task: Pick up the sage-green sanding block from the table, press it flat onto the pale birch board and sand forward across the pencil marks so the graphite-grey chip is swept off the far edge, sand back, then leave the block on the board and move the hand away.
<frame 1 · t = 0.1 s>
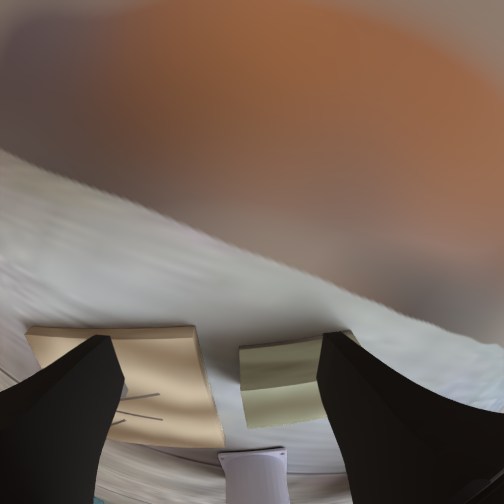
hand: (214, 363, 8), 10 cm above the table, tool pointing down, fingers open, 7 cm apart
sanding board: (126, 392, 21), on the table
sanding block: (296, 359, 21), on the table
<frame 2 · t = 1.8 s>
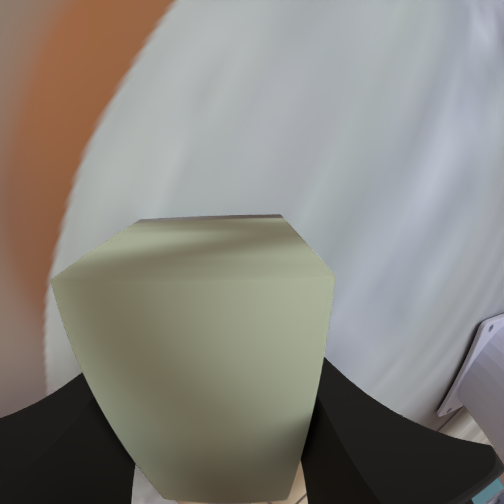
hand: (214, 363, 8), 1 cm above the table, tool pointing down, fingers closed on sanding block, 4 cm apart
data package: (464, 474, 28), on the table
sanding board: (276, 489, 15), on the table
sanding block: (216, 337, 10), on the table, touching gripper
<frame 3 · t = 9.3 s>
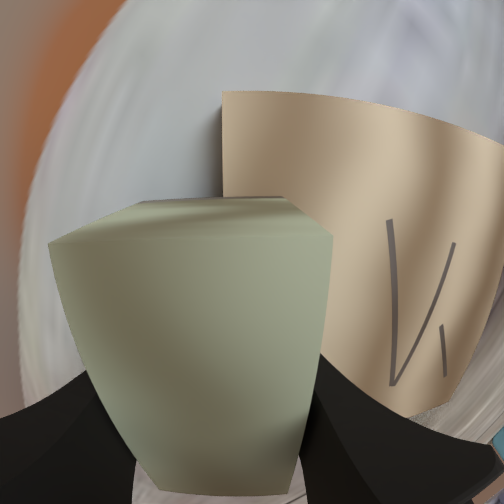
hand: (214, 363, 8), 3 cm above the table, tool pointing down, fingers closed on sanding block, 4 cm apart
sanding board: (388, 303, 12), on the table
sanding block: (217, 322, 10), point 1 cm above the table, touching gripper, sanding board
when the fingers open (3 cm above the table, at t = 10.7 s): sanding block stays where it is, resting on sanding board.
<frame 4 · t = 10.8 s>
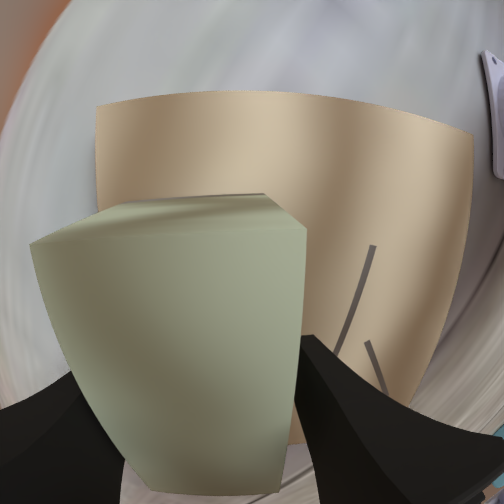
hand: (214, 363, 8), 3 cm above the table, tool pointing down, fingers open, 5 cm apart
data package: (497, 431, 25), on the table
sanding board: (300, 312, 12), on the table
sanding block: (203, 321, 10), point 2 cm above the table, touching gripper, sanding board
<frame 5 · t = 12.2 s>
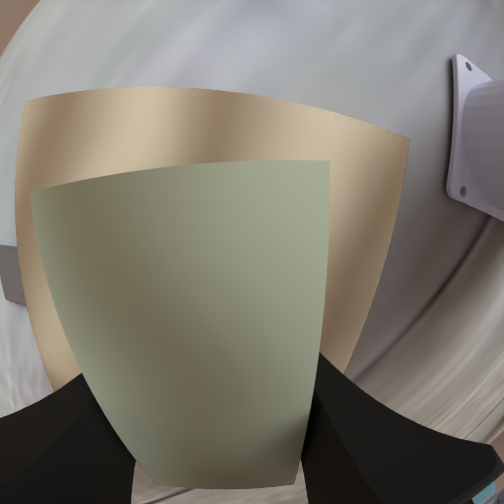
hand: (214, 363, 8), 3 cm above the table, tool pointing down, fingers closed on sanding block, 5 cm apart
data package: (447, 470, 26), on the table
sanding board: (179, 310, 11), on the table
sanding block: (212, 299, 9), point 2 cm above the table, touching gripper
pencil chip: (26, 271, 11), on the table
when the fingers open (3 cm above the table, at t = 13.3 s): sanding block stays where it is, resting on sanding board.
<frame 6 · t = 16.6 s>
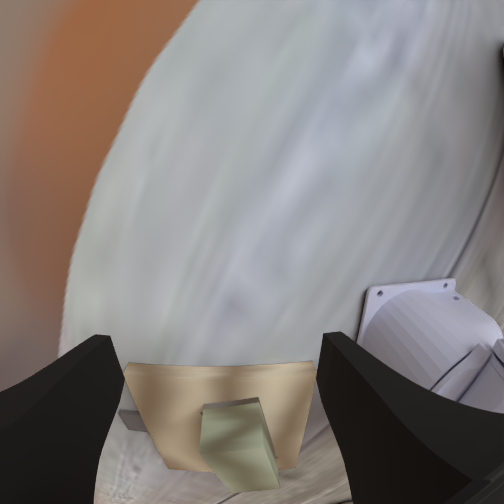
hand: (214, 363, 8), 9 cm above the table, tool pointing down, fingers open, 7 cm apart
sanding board: (225, 426, 22), on the table
sanding block: (242, 430, 21), point 2 cm above the table, touching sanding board
pencil chip: (138, 416, 22), on the table
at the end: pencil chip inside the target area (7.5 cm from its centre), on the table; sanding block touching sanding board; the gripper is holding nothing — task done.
